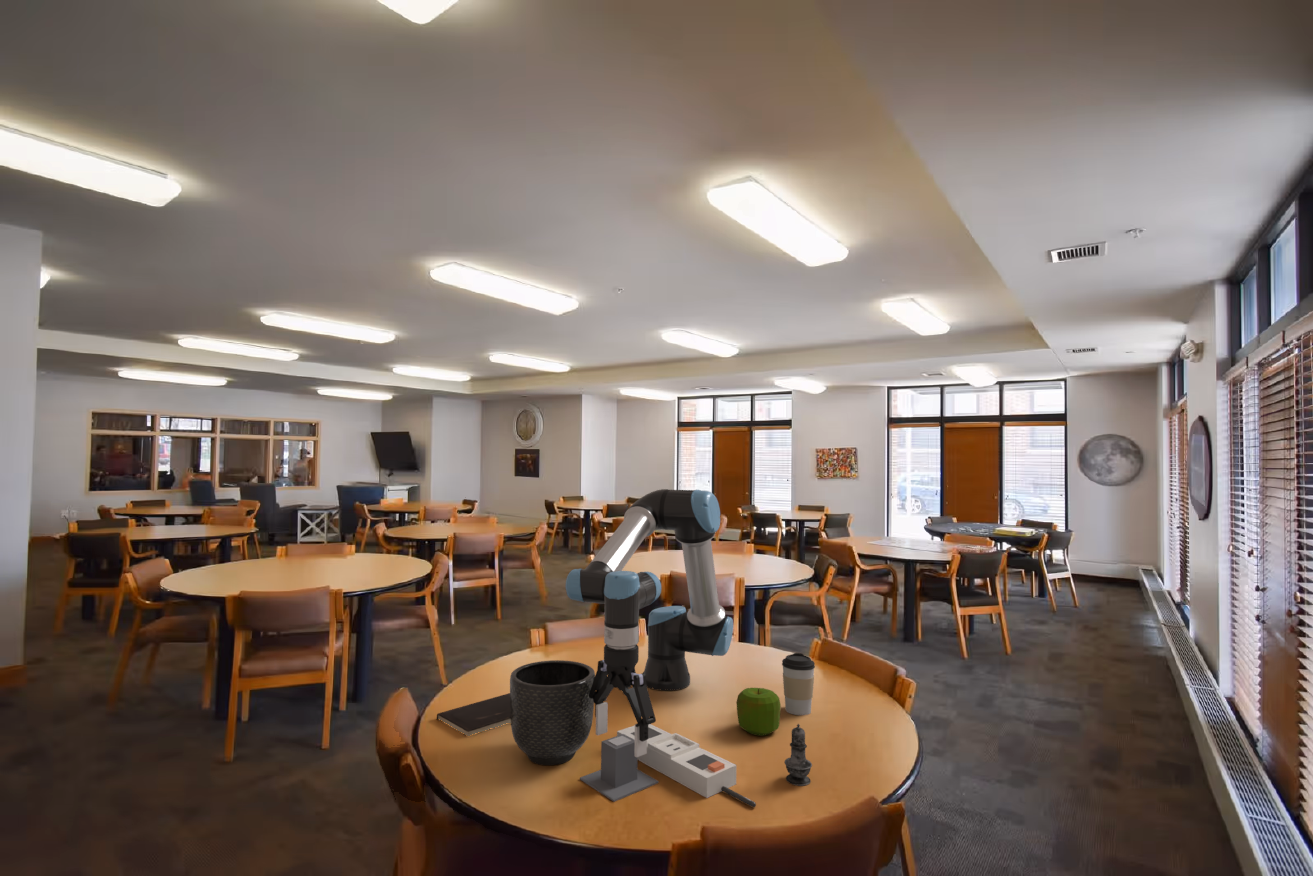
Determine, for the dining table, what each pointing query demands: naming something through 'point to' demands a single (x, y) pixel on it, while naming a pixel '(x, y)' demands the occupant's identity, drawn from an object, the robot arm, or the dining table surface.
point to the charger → (618, 761)
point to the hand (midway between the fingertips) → (620, 744)
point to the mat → (622, 791)
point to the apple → (758, 711)
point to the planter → (551, 709)
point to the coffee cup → (798, 683)
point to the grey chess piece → (798, 759)
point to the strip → (688, 763)
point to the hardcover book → (479, 715)
